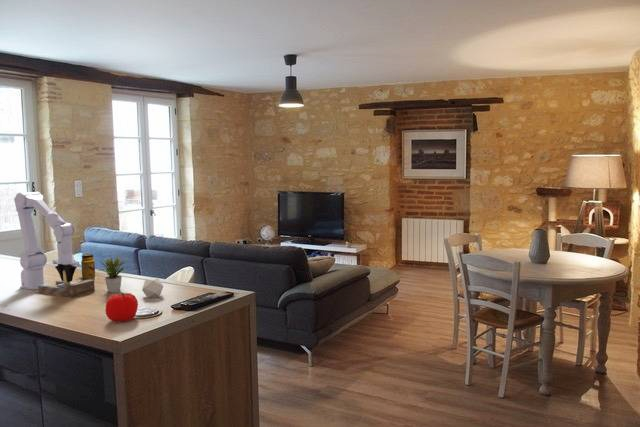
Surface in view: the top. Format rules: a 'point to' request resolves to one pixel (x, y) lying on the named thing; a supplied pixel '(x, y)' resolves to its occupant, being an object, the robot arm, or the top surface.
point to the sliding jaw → (65, 281)
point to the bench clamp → (68, 288)
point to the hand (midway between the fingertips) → (67, 281)
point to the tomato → (121, 307)
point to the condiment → (87, 267)
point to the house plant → (113, 274)
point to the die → (152, 287)
